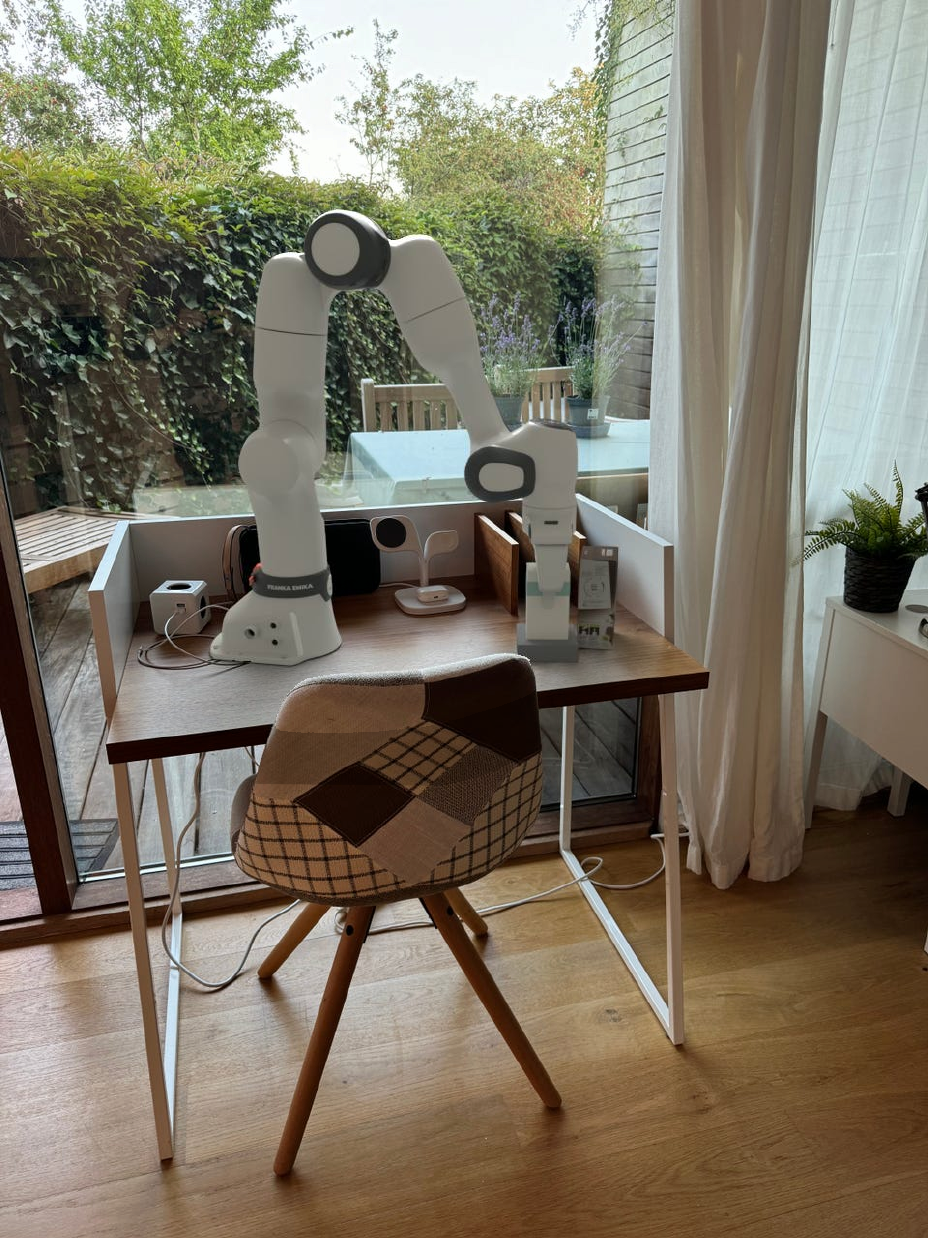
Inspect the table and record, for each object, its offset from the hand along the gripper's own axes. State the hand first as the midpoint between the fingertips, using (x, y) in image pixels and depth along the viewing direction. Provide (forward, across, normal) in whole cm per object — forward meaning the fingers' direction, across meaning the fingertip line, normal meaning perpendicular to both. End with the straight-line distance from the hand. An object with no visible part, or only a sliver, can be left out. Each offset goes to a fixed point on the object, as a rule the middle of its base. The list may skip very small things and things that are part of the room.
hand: (547, 600), depth 148 cm
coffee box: (+9, -5, +9) cm, 14 cm away
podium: (+9, 0, 0) cm, 9 cm away
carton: (+6, 0, 0) cm, 6 cm away
